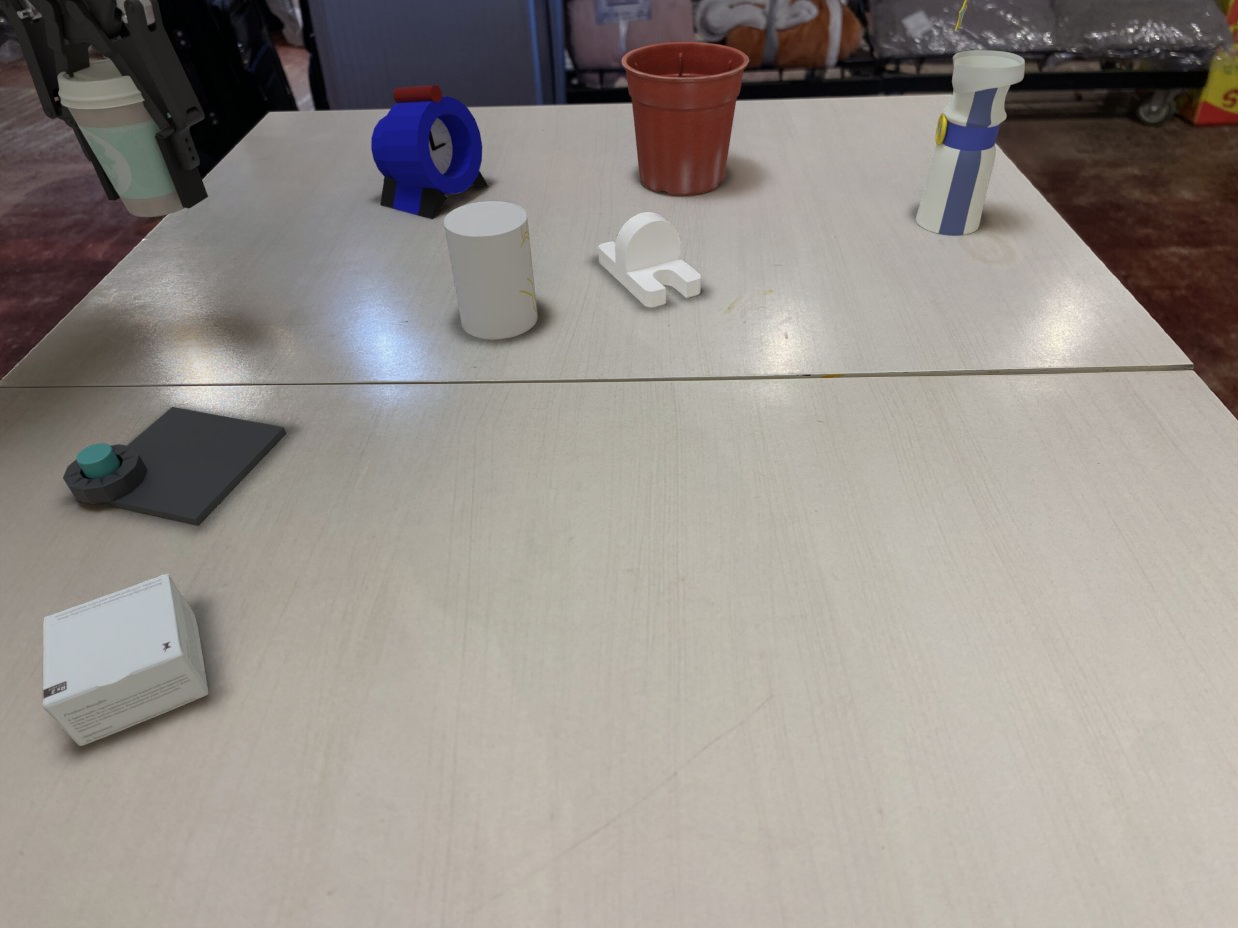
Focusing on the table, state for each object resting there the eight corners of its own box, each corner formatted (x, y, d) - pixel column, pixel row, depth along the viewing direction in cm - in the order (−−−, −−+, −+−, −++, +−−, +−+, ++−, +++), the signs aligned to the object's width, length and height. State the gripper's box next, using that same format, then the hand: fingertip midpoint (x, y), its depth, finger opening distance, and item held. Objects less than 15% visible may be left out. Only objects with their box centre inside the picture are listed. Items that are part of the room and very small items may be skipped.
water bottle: (915, 235, 100) (968, 10, 84) (909, 207, 106) (957, -8, 90) (985, 239, 99) (1052, 11, 82) (975, 210, 105) (1035, -7, 89)
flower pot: (708, 213, 107) (715, 84, 96) (602, 190, 113) (598, 67, 103) (757, 170, 117) (768, 50, 107) (657, 152, 124) (658, 37, 113)
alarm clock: (436, 220, 107) (414, 101, 97) (369, 202, 112) (342, 88, 102) (493, 187, 115) (478, 75, 105) (428, 172, 120) (408, 63, 110)
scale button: (78, 476, 65) (68, 460, 64) (102, 456, 67) (92, 440, 66) (104, 482, 65) (94, 466, 64) (127, 461, 67) (118, 445, 65)
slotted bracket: (703, 298, 90) (706, 232, 85) (648, 314, 87) (648, 247, 82) (647, 252, 99) (647, 190, 93) (596, 265, 96) (593, 202, 91)
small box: (199, 616, 57) (170, 568, 54) (213, 701, 52) (183, 653, 49) (77, 661, 55) (40, 614, 51) (80, 755, 50) (38, 709, 46)
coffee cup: (115, 196, 79) (56, 63, 71) (208, 181, 81) (161, 51, 73) (108, 231, 73) (43, 90, 65) (209, 214, 75) (157, 76, 67)
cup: (547, 334, 85) (537, 227, 77) (472, 352, 83) (454, 243, 75) (525, 299, 91) (514, 195, 83) (454, 314, 88) (435, 209, 80)
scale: (65, 508, 66) (47, 482, 64) (171, 417, 75) (158, 391, 74) (195, 538, 63) (180, 510, 61) (288, 439, 73) (278, 412, 71)
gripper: (184, -98, 62) (275, 192, 77) (-27, -100, 66) (98, 175, 81) (114, -84, 56) (227, 225, 71) (-110, -86, 61) (40, 205, 76)
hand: (158, 198), depth 76 cm, fingers closed on coffee cup, 8 cm apart
